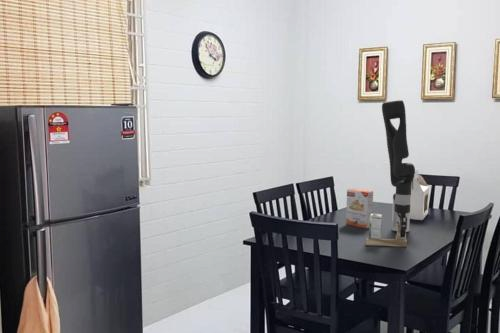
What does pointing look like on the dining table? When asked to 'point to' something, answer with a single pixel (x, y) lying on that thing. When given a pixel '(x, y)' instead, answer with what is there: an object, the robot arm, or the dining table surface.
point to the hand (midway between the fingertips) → (401, 235)
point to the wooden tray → (389, 240)
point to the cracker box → (359, 207)
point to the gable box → (419, 197)
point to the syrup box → (375, 226)
